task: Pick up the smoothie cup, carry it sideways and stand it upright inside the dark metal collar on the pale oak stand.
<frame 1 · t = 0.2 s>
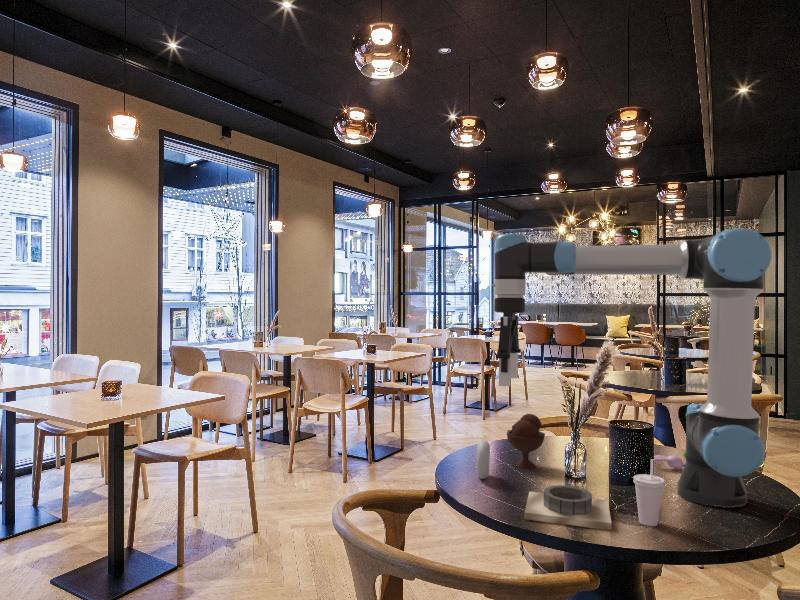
hand: (508, 382, 141), 28 cm above the table, fingers open, 13 cm apart
smoothie: (648, 523, 124), on the table
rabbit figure: (679, 470, 162), on the table
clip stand: (567, 512, 129), on the table
ice cream bowl: (525, 466, 164), on the table
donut: (482, 478, 153), on the table
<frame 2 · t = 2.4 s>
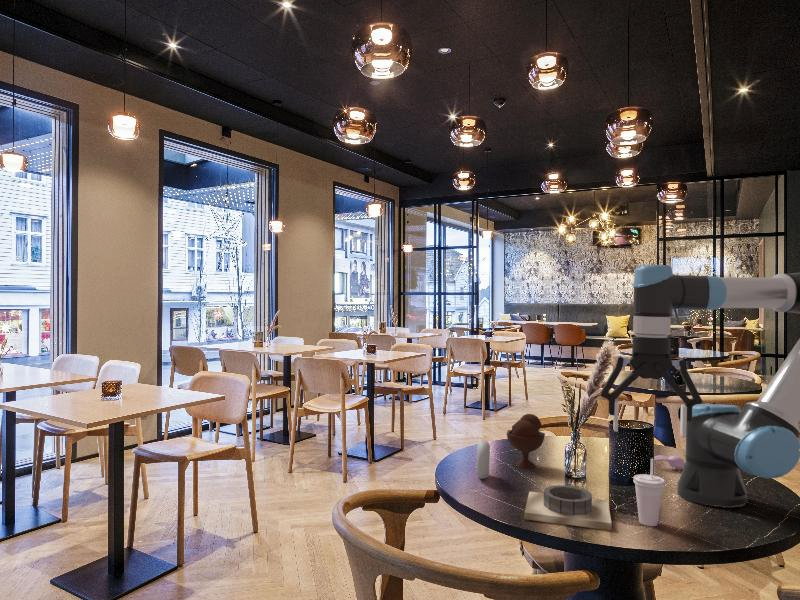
hand: (648, 433, 124), 20 cm above the table, fingers open, 13 cm apart
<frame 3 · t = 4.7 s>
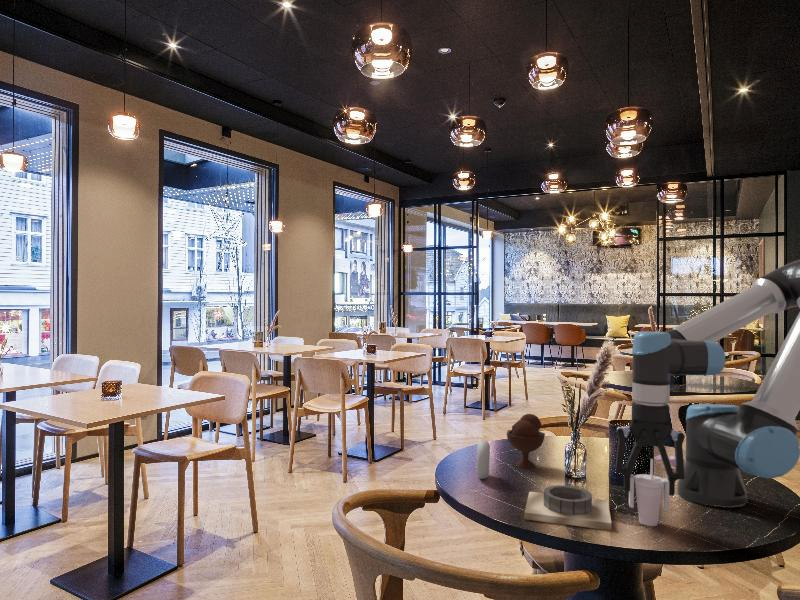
hand: (648, 507, 124), 3 cm above the table, fingers closed on smoothie, 6 cm apart
smoothie: (648, 523, 124), on the table, touching gripper
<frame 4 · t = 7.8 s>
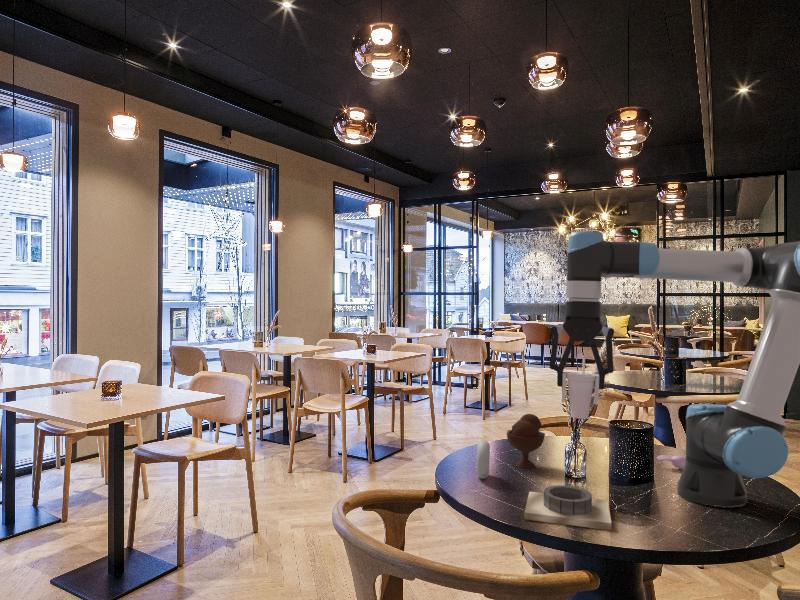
hand: (579, 402, 128), 25 cm above the table, fingers closed on smoothie, 6 cm apart
smoothie: (579, 417, 128), point 22 cm above the table, touching gripper
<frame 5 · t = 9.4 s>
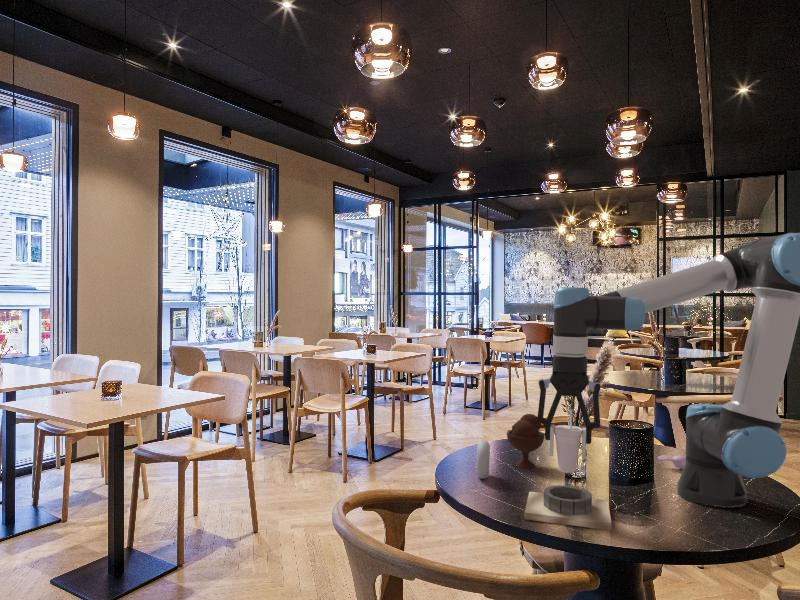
hand: (567, 455, 129), 13 cm above the table, fingers closed on smoothie, 6 cm apart
smoothie: (567, 471, 129), point 9 cm above the table, touching gripper
when the fingers open (6 cm above the table, at t = 11.0 s): smoothie drops 1 cm, resting on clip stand.
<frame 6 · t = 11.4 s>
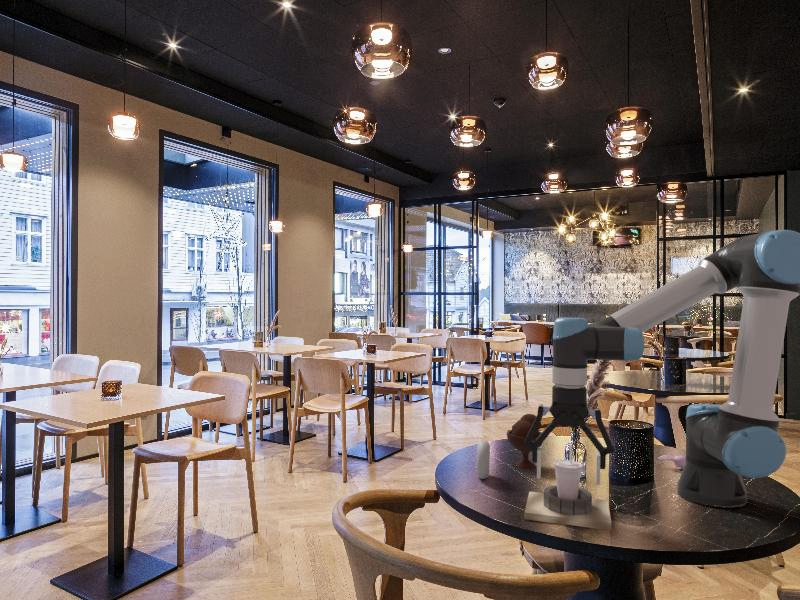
hand: (567, 479, 129), 8 cm above the table, fingers open, 12 cm apart
smoothie: (567, 507, 129), point 1 cm above the table, touching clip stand
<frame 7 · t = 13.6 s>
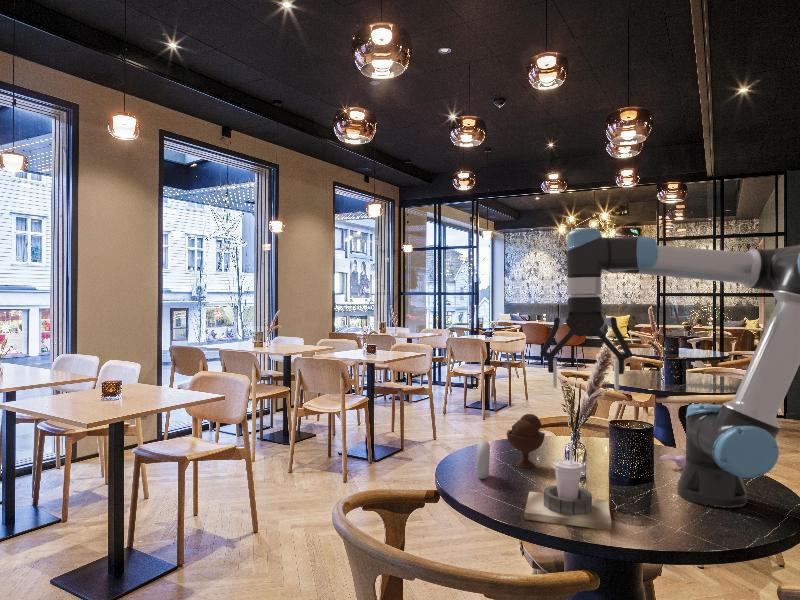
hand: (585, 387, 131), 28 cm above the table, fingers open, 13 cm apart
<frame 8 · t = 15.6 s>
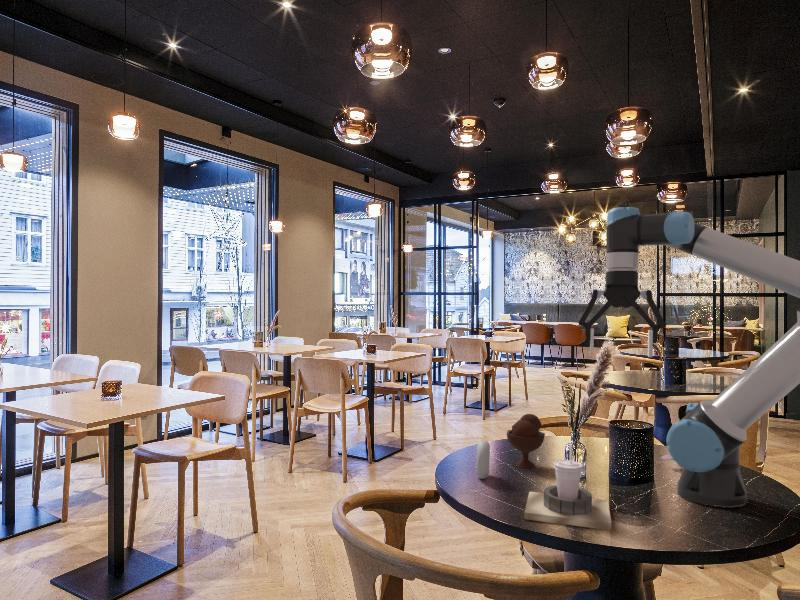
hand: (620, 355, 141), 35 cm above the table, fingers open, 13 cm apart
at the end: smoothie 0.0 cm off-centre on the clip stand, point 1.3 cm above the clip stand's base; smoothie tilted 0°; the gripper is holding nothing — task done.
